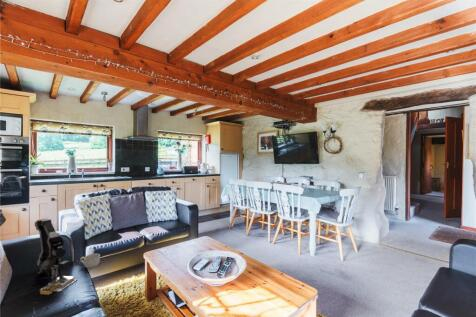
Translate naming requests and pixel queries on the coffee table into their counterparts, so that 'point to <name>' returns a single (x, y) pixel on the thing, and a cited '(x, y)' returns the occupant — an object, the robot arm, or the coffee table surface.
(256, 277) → the coffee table surface
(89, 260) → the teacup
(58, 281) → the knob backplate
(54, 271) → the pin
